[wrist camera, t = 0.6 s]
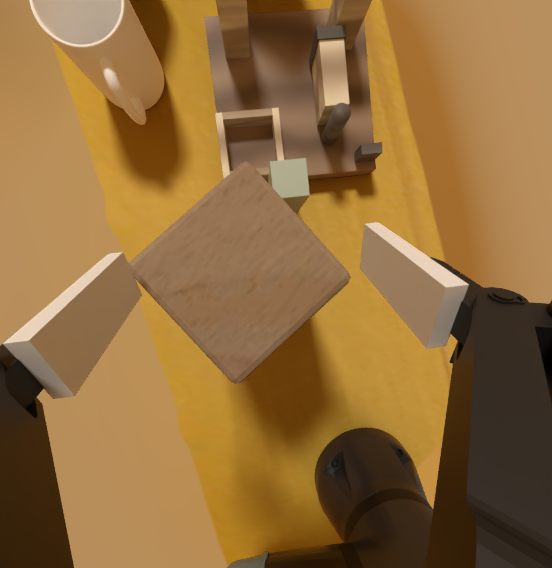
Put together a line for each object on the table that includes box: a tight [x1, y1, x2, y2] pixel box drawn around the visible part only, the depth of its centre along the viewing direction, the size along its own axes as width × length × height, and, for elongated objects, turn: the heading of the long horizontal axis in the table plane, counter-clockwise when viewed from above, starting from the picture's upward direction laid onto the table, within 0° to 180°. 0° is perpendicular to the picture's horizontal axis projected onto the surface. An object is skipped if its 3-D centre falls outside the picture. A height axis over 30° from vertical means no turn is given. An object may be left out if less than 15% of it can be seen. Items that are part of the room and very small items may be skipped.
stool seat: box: [204, 0, 382, 182], centre depth 29 cm, size 20×20×10 cm
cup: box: [29, 0, 164, 125], centre depth 28 cm, size 8×12×10 cm
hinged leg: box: [309, 25, 349, 126], centre depth 30 cm, size 8×3×4 cm, turn 7°
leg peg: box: [268, 158, 310, 214], centre depth 29 cm, size 4×4×11 cm
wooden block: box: [128, 162, 351, 384], centre depth 25 cm, size 10×10×20 cm
